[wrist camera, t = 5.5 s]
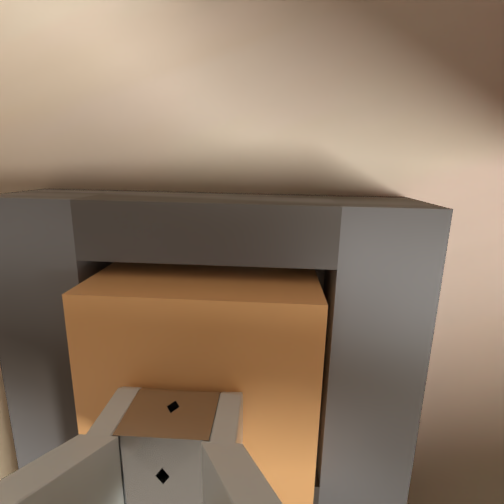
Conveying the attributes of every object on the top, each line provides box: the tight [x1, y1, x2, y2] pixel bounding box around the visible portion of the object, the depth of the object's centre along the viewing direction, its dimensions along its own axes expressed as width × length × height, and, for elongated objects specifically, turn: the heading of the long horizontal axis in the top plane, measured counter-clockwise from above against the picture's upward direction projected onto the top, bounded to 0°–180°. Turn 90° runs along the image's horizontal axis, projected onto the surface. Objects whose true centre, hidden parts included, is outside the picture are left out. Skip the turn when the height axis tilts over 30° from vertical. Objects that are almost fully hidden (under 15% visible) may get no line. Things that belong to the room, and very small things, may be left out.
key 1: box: [62, 262, 328, 504], centre depth 10 cm, size 6×6×3 cm
